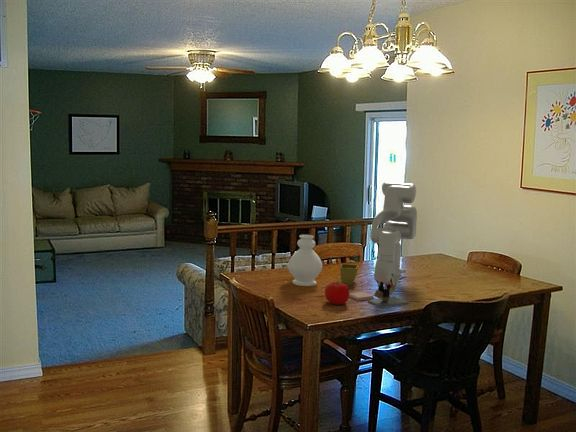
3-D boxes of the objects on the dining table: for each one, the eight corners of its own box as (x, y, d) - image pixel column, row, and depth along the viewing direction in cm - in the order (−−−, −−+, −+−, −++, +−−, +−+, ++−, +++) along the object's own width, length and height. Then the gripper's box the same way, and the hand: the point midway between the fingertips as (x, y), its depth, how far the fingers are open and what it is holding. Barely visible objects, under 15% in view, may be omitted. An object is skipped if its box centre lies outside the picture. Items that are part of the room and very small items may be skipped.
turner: (389, 302, 292) (379, 297, 289) (382, 300, 297) (372, 295, 293) (399, 279, 294) (389, 274, 290) (392, 277, 298) (382, 272, 294)
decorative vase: (328, 283, 326) (330, 236, 322) (305, 289, 313) (308, 240, 309) (302, 276, 338) (305, 231, 334) (280, 282, 325) (282, 234, 321)
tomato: (354, 305, 290) (355, 283, 288) (335, 308, 283) (336, 286, 282) (337, 298, 299) (339, 277, 298) (319, 301, 293) (320, 280, 291)
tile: (364, 291, 308) (348, 293, 304) (373, 296, 301) (357, 297, 297) (363, 295, 308) (348, 297, 304) (373, 300, 301) (357, 301, 297)
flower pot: (355, 285, 325) (356, 268, 324) (338, 283, 327) (339, 267, 325) (357, 281, 334) (358, 265, 332) (340, 279, 335) (341, 263, 334)
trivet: (393, 298, 304) (393, 296, 304) (407, 303, 296) (407, 301, 296) (368, 302, 295) (368, 300, 295) (382, 308, 287) (382, 305, 287)
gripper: (368, 254, 295) (366, 292, 298) (392, 261, 282) (389, 301, 284) (380, 253, 299) (378, 290, 302) (404, 260, 286) (401, 299, 288)
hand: (383, 295), depth 293 cm, fingers closed on turner, 3 cm apart
